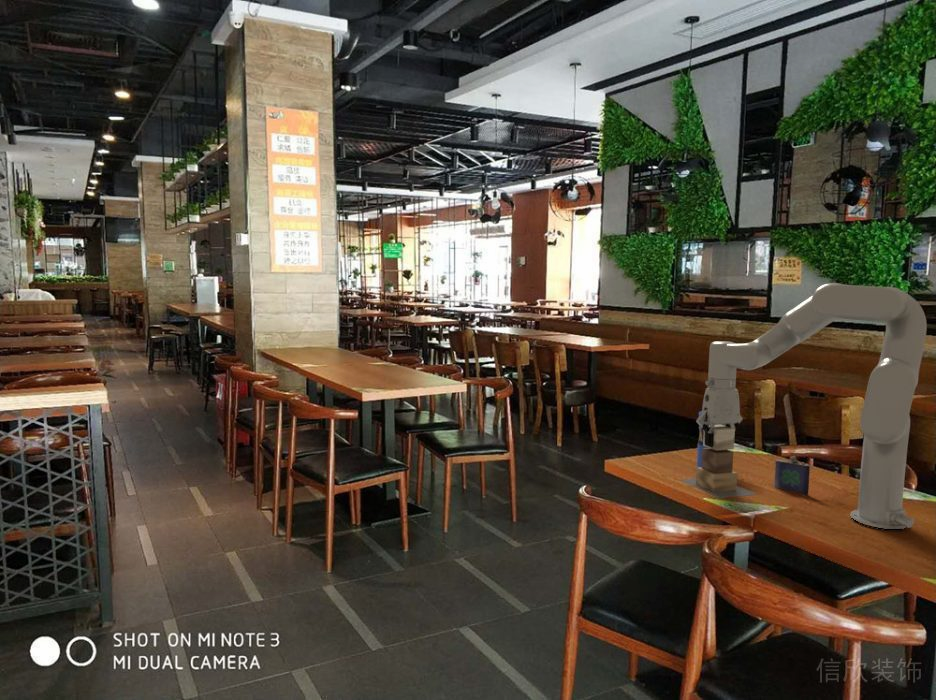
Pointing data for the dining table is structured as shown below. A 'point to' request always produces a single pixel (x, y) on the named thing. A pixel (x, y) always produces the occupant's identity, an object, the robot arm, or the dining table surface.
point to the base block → (716, 480)
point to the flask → (792, 475)
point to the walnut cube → (717, 460)
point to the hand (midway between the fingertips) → (718, 444)
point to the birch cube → (722, 438)
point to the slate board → (721, 494)
